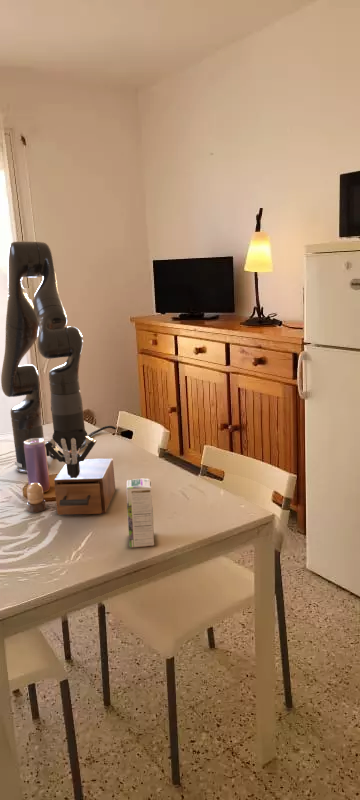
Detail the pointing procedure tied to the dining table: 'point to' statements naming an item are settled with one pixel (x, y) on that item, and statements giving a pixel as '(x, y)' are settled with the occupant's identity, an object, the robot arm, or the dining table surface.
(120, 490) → the dining table surface
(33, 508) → the egg
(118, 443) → the dining table surface
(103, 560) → the dining table surface
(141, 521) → the syrup box
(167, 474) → the dining table surface
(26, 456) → the beverage can
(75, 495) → the drawer
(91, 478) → the cabinet
